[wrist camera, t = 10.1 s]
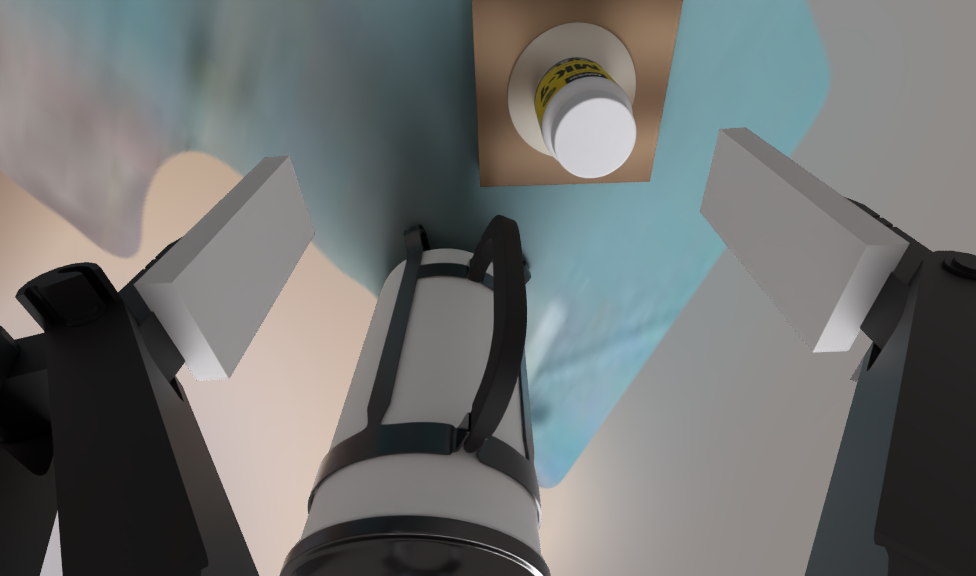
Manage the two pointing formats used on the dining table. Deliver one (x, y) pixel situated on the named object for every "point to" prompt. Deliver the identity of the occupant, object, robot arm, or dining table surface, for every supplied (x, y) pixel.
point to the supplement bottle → (584, 117)
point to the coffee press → (434, 427)
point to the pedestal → (541, 43)
